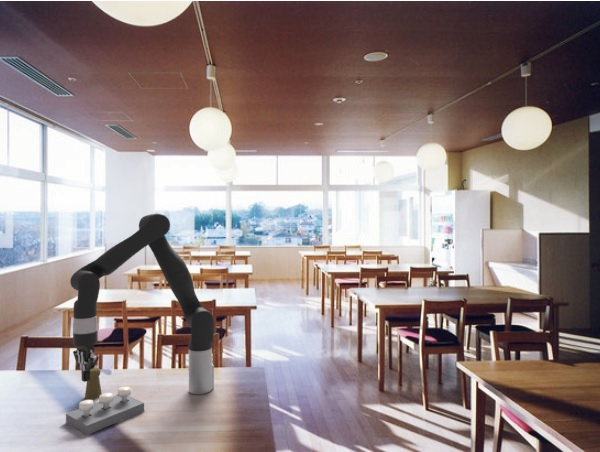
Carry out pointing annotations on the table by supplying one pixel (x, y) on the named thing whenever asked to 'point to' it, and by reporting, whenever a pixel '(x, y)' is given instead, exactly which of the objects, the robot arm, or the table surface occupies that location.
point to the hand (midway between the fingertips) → (85, 380)
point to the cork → (93, 385)
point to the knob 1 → (86, 407)
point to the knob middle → (105, 400)
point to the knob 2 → (124, 393)
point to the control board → (104, 414)
